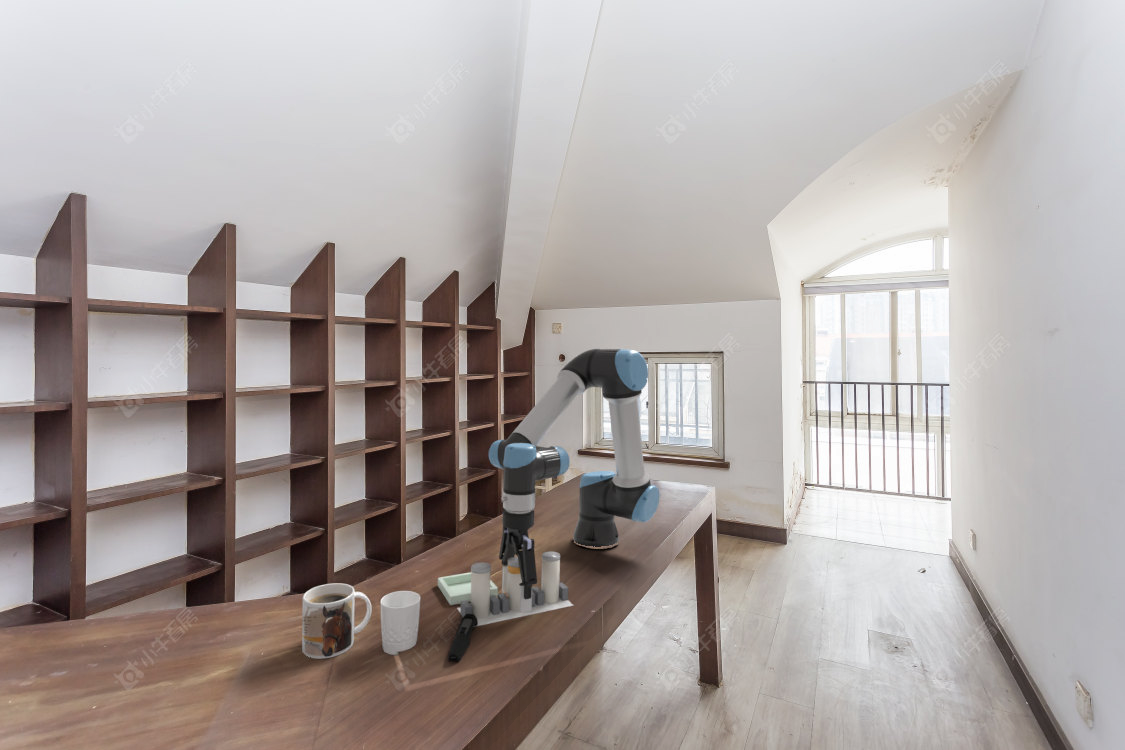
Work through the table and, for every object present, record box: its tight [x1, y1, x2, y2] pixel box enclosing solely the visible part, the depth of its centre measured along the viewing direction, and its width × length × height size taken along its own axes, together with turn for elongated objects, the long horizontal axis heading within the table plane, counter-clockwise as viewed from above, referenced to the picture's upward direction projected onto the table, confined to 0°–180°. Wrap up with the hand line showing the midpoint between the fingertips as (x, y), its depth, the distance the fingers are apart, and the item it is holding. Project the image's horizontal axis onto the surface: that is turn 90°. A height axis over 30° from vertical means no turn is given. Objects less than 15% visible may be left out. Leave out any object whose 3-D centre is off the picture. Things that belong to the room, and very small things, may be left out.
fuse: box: [470, 562, 492, 619], centre depth 124 cm, size 4×4×11 cm
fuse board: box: [456, 581, 574, 628], centre depth 128 cm, size 26×10×4 cm, turn 117°
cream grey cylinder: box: [540, 551, 561, 604], centre depth 132 cm, size 4×4×11 cm
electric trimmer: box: [447, 614, 478, 662], centre depth 112 cm, size 4×16×3 cm, turn 177°
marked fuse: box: [506, 556, 522, 611], centre depth 128 cm, size 4×4×11 cm
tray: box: [437, 571, 499, 606], centre depth 136 cm, size 12×12×3 cm
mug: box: [301, 582, 372, 660], centre depth 111 cm, size 10×12×11 cm
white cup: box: [379, 590, 421, 656], centre depth 111 cm, size 8×8×10 cm
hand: (516, 600), depth 128 cm, fingers open, 10 cm apart
